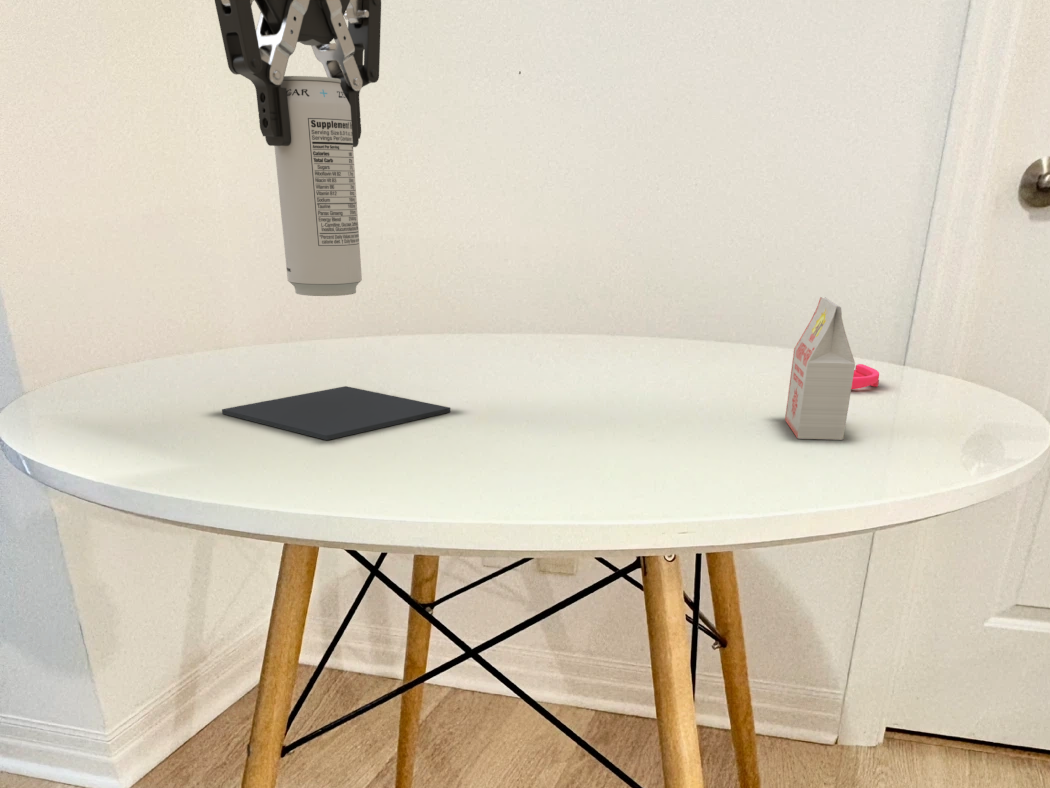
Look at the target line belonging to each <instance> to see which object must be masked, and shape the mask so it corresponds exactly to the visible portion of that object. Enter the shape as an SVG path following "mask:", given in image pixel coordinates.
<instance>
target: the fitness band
mask: <svg viewBox="0 0 1050 788" xmlns="http://www.w3.org/2000/svg"><path fill="white" fill-rule="evenodd" d="M879 385H880V372H879V370H877V369H875V368H873V367H871V366H869V365H867V364H863V363H857V364H855V368H854V375H853V381H852V387H851V390H859V389H863V388H867V387H869V386H871V387H874V388H875V387H879Z"/></svg>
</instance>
